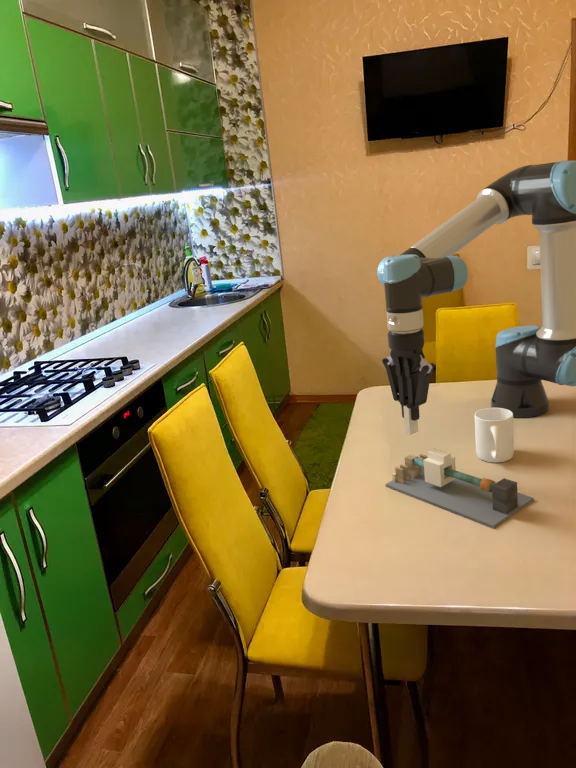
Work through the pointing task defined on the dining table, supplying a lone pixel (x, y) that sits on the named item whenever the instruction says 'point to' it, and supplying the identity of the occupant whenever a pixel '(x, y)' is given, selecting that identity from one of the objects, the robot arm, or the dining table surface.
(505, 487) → the comb rail
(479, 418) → the mug
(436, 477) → the sleeve
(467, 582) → the dining table surface
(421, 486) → the mat
